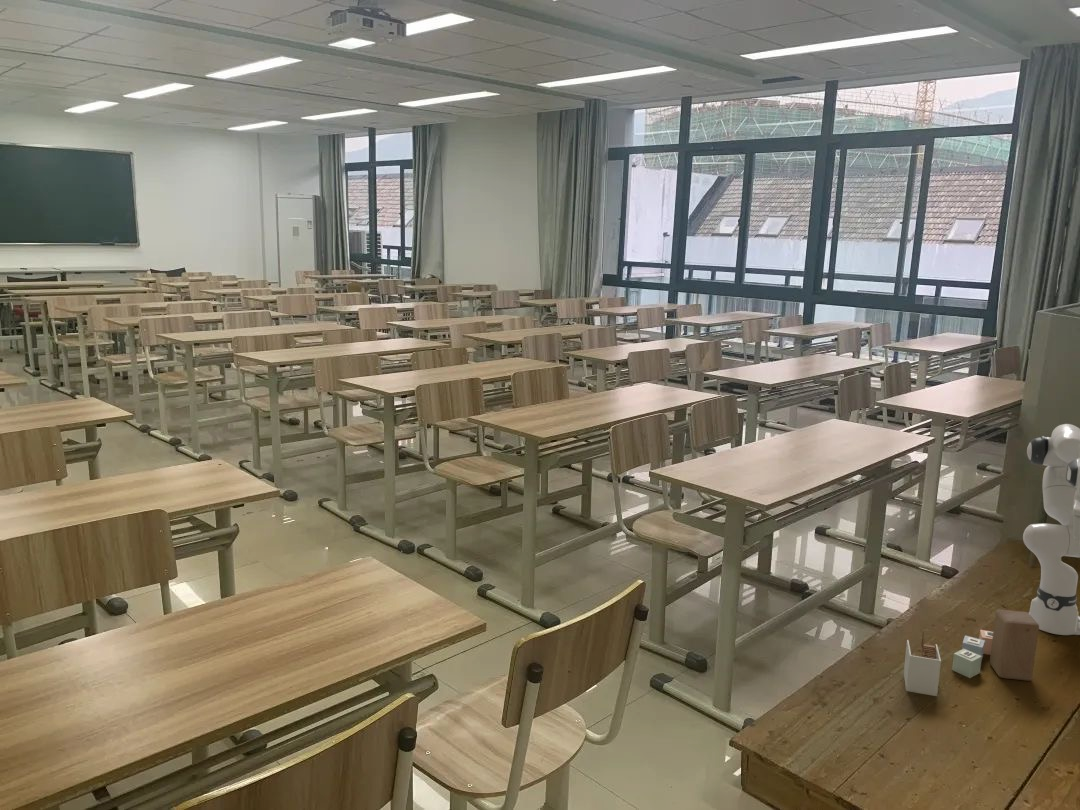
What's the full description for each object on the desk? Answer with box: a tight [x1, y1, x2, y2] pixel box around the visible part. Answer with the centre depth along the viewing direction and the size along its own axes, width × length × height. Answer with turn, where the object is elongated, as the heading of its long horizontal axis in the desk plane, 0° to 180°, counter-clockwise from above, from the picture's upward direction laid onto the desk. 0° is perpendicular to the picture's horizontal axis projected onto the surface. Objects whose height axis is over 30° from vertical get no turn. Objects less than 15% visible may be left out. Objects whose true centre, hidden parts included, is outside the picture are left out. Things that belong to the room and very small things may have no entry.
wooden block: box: [989, 609, 1040, 681], centre depth 257 cm, size 10×10×20 cm
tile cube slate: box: [961, 635, 985, 662], centre depth 267 cm, size 6×6×6 cm
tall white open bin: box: [903, 629, 942, 697], centre depth 250 cm, size 9×11×17 cm
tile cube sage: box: [951, 648, 983, 679], centre depth 258 cm, size 6×6×6 cm
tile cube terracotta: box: [978, 629, 993, 656], centre depth 272 cm, size 6×6×6 cm
